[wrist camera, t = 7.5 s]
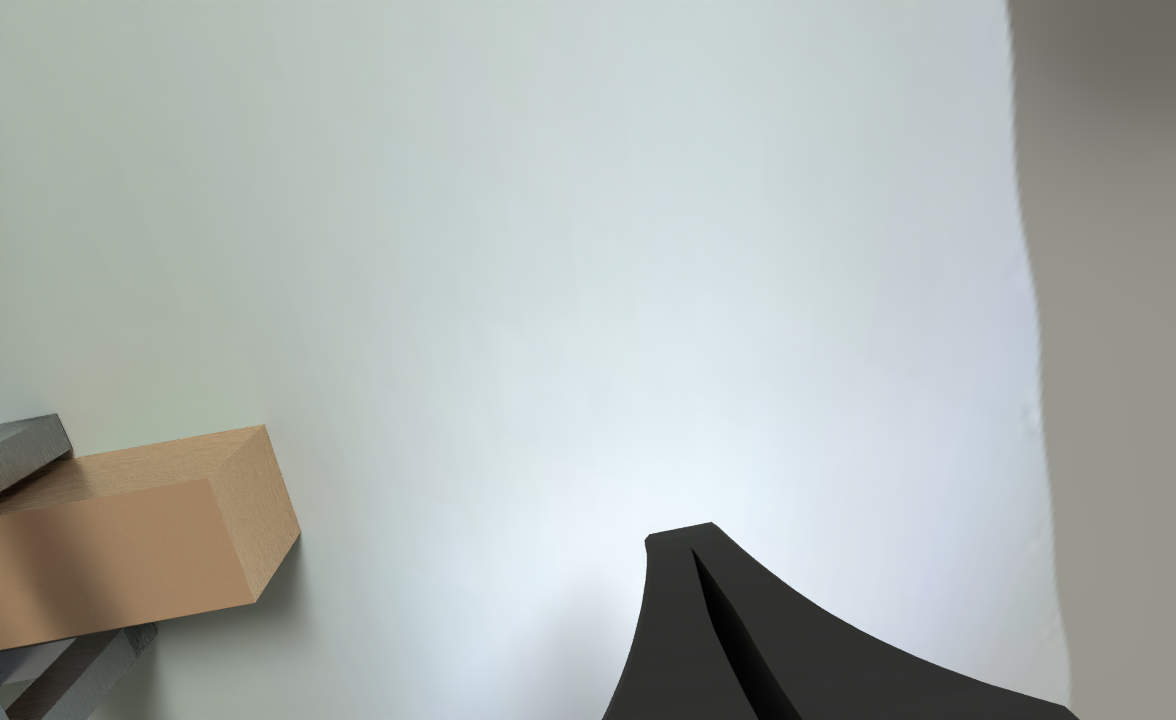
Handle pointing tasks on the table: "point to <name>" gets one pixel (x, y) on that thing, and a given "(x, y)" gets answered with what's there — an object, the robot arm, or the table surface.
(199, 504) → the pine wood beam
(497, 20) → the table surface
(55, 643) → the gray metal beam bracket
